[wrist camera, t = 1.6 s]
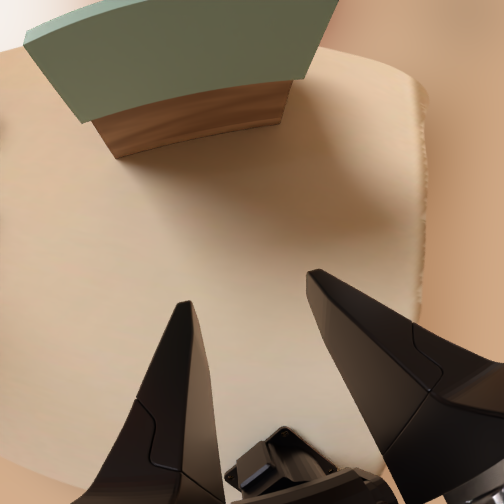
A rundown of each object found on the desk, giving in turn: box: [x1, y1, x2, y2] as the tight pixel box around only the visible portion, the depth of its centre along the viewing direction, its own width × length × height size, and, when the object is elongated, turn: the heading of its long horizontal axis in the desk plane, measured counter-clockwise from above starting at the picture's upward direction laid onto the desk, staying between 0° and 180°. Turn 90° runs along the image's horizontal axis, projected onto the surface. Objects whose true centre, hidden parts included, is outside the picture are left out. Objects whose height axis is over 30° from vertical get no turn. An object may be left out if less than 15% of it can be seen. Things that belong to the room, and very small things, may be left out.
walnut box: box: [91, 80, 293, 159], centre depth 22 cm, size 8×14×7 cm, turn 104°
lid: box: [23, 0, 339, 124], centre depth 13 cm, size 8×14×1 cm
